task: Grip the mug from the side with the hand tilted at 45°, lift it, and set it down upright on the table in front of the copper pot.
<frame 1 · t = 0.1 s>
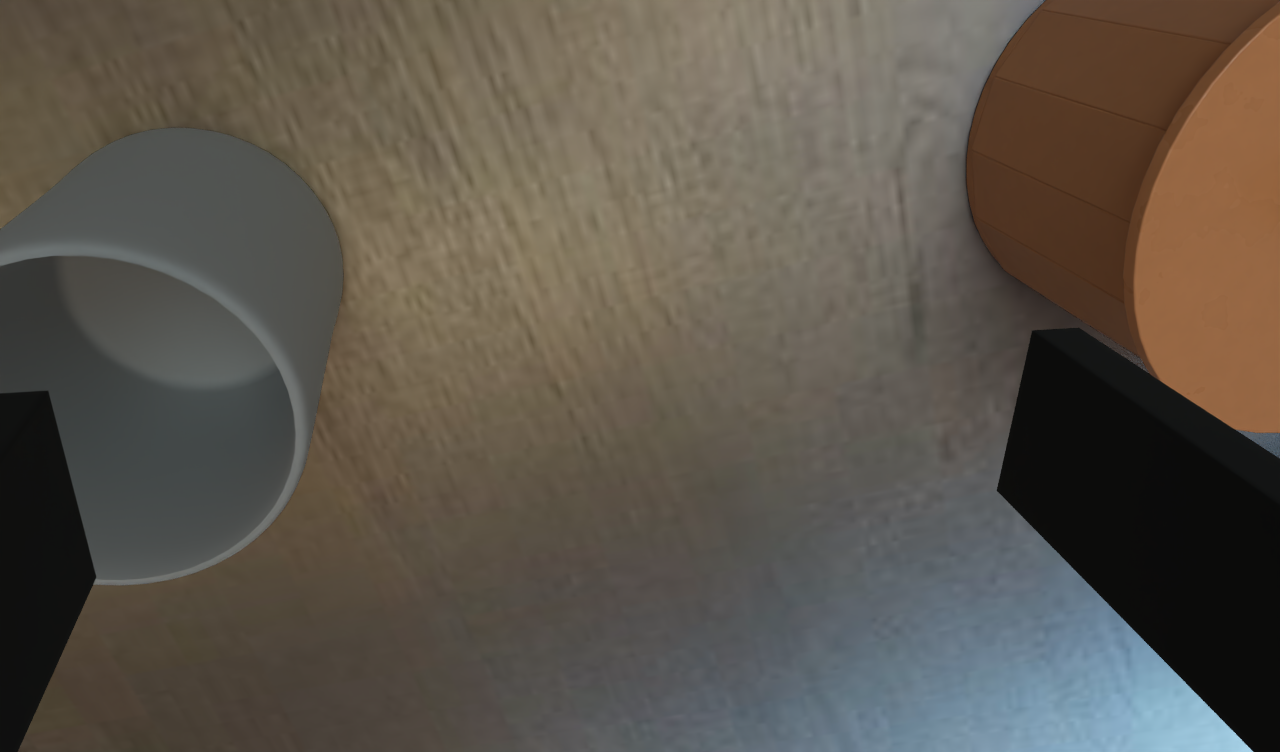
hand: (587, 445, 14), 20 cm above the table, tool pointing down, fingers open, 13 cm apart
pot: (1126, 135, 35), on the table
mug: (159, 290, 31), on the table
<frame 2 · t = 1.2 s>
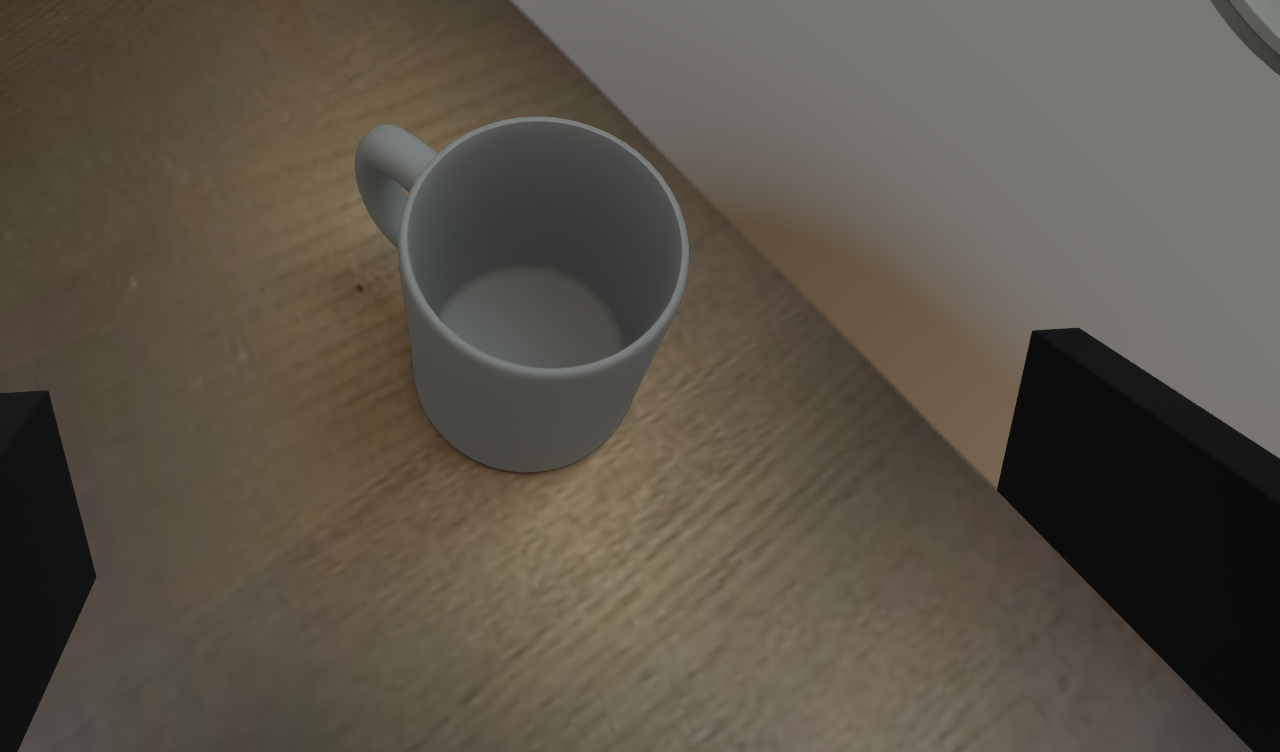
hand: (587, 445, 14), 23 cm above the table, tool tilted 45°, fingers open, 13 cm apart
mug: (492, 341, 39), on the table
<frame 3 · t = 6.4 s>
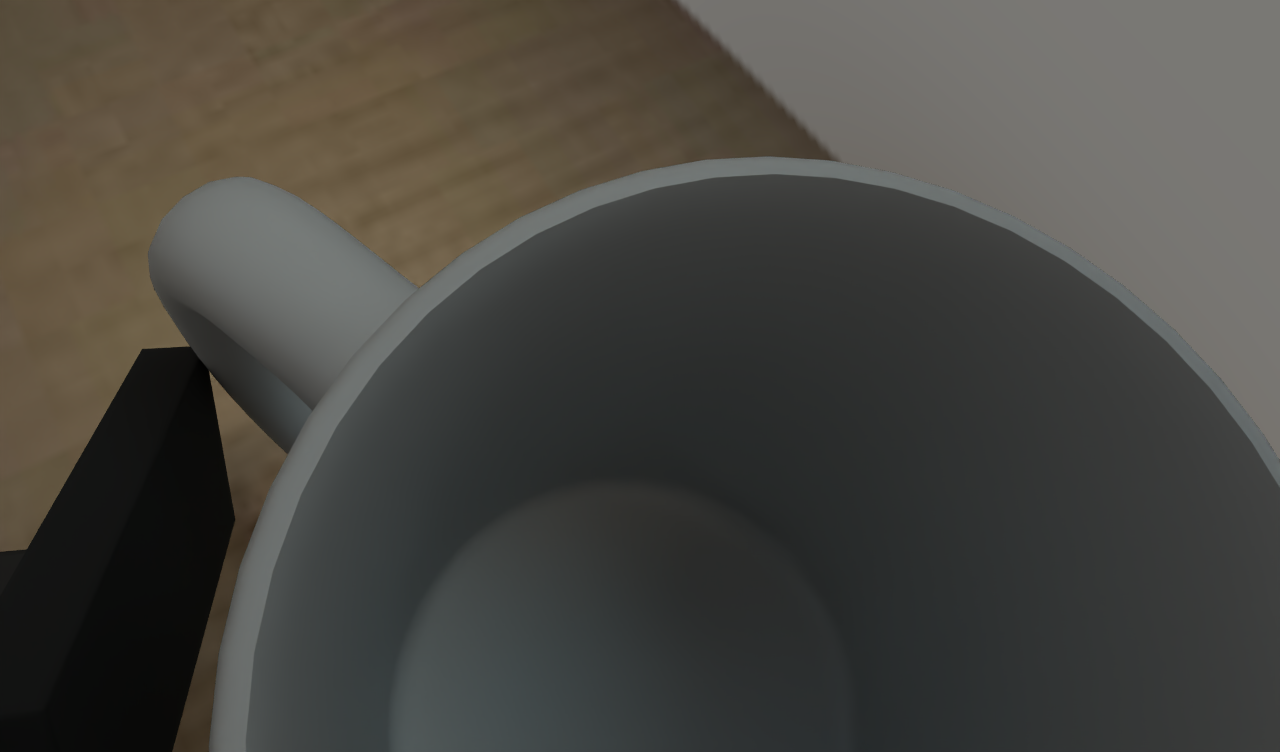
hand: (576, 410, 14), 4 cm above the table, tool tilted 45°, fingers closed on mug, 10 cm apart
mug: (539, 644, 17), on the table, touching gripper
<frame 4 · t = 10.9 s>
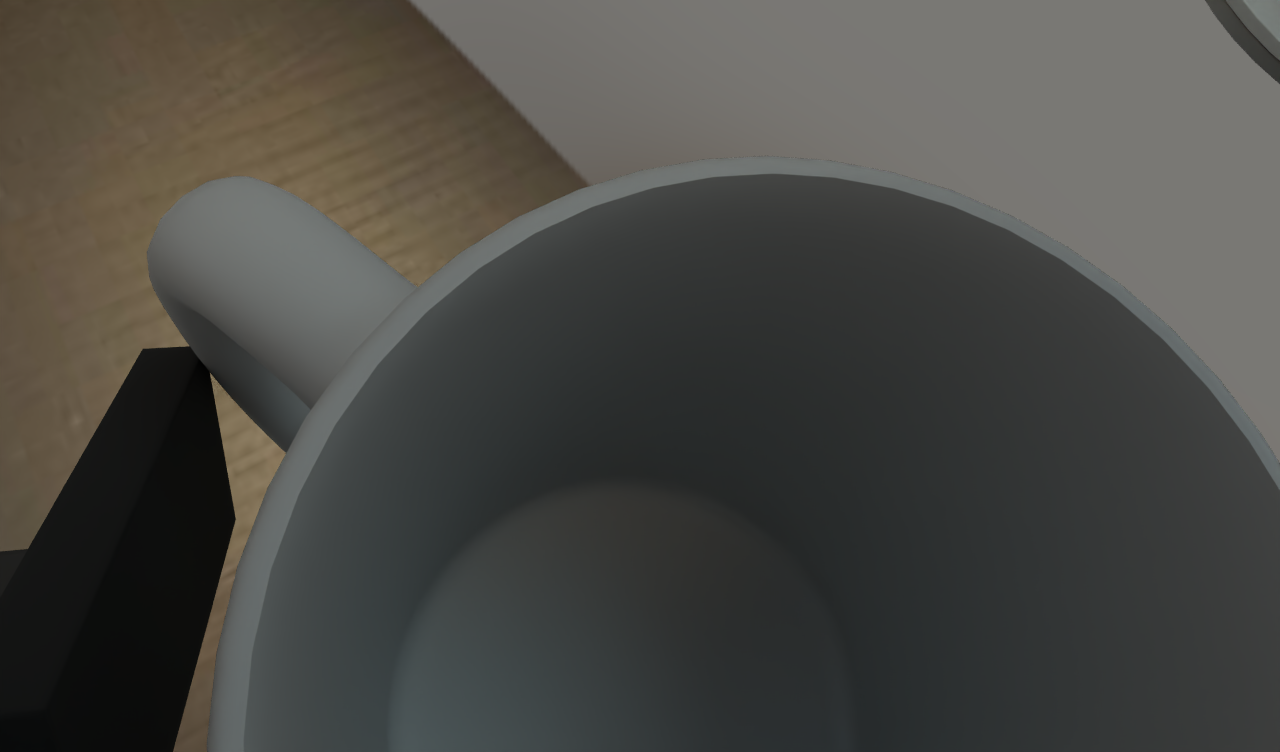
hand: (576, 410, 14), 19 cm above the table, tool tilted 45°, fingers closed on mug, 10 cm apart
mug: (538, 644, 17), point 15 cm above the table, touching gripper
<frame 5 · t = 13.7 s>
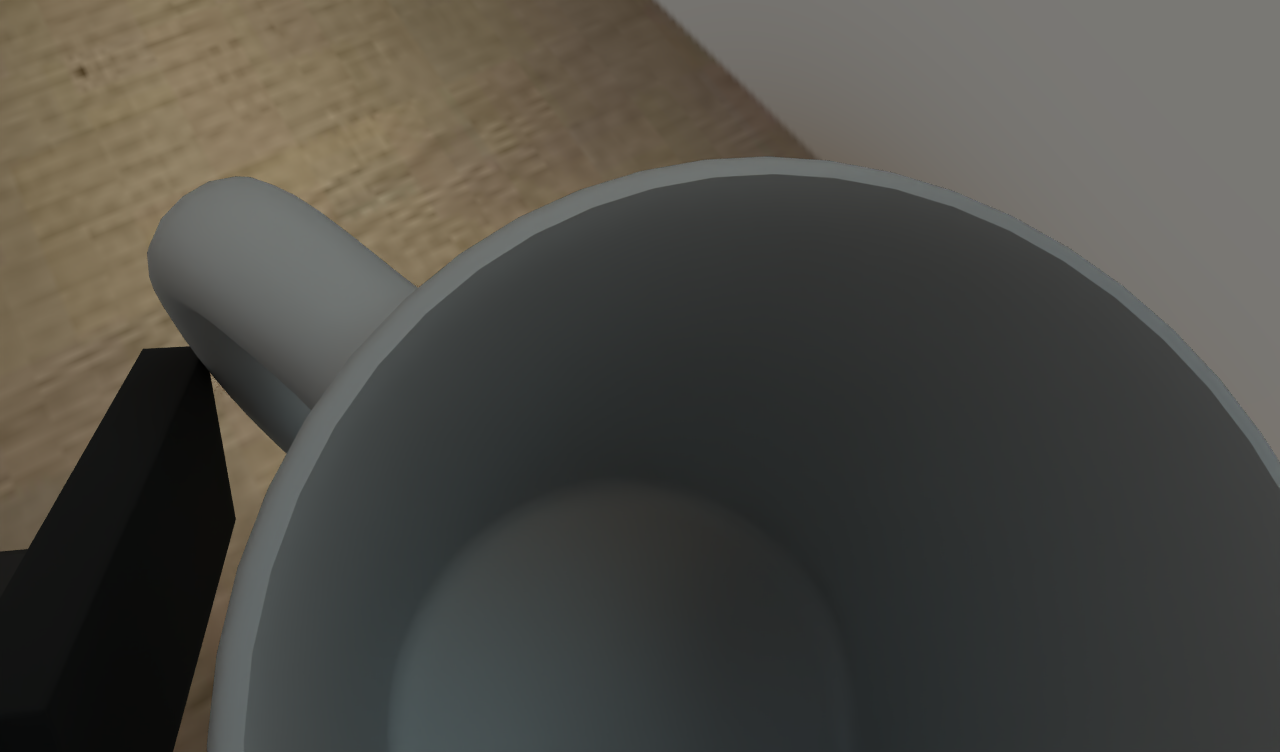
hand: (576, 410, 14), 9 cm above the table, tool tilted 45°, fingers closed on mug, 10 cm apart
mug: (538, 644, 17), point 5 cm above the table, touching gripper
when the fingers open (4 cm above the table, at t = 15.8 s): mug stays where it is, on the table.
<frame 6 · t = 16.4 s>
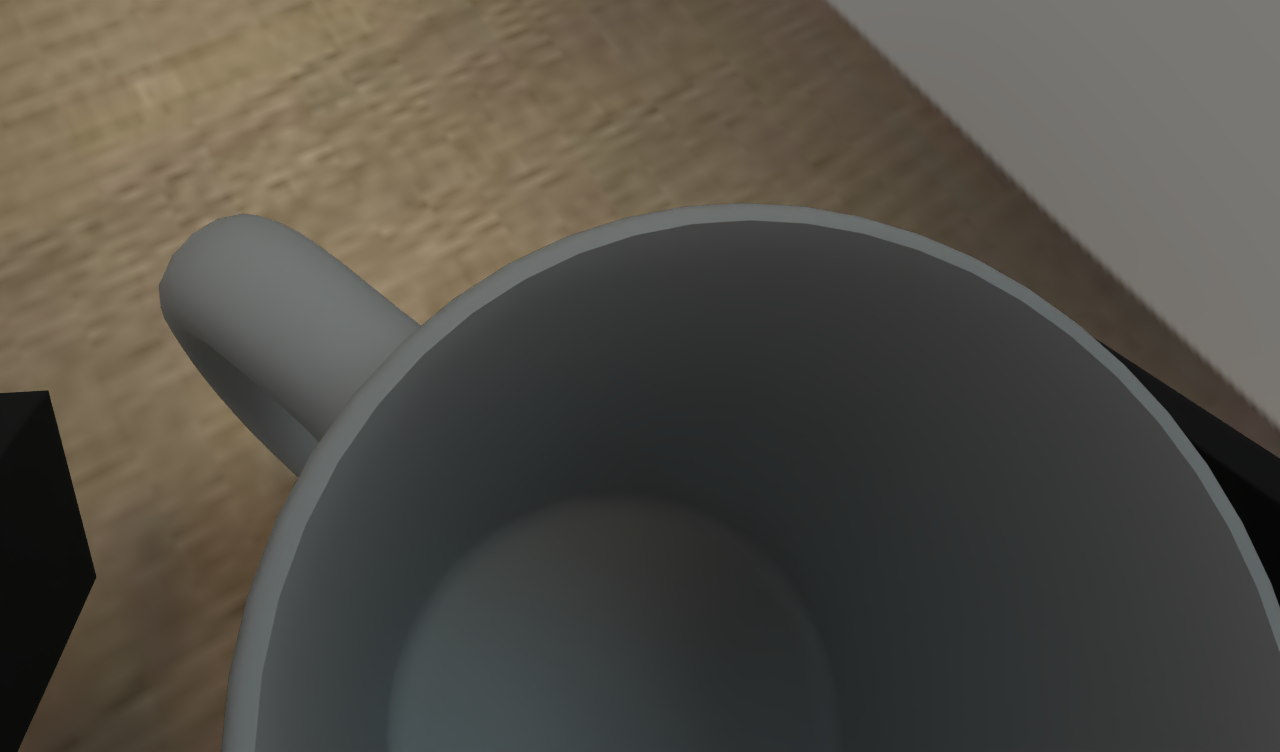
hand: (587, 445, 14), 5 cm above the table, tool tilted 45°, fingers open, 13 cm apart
mug: (534, 652, 18), on the table
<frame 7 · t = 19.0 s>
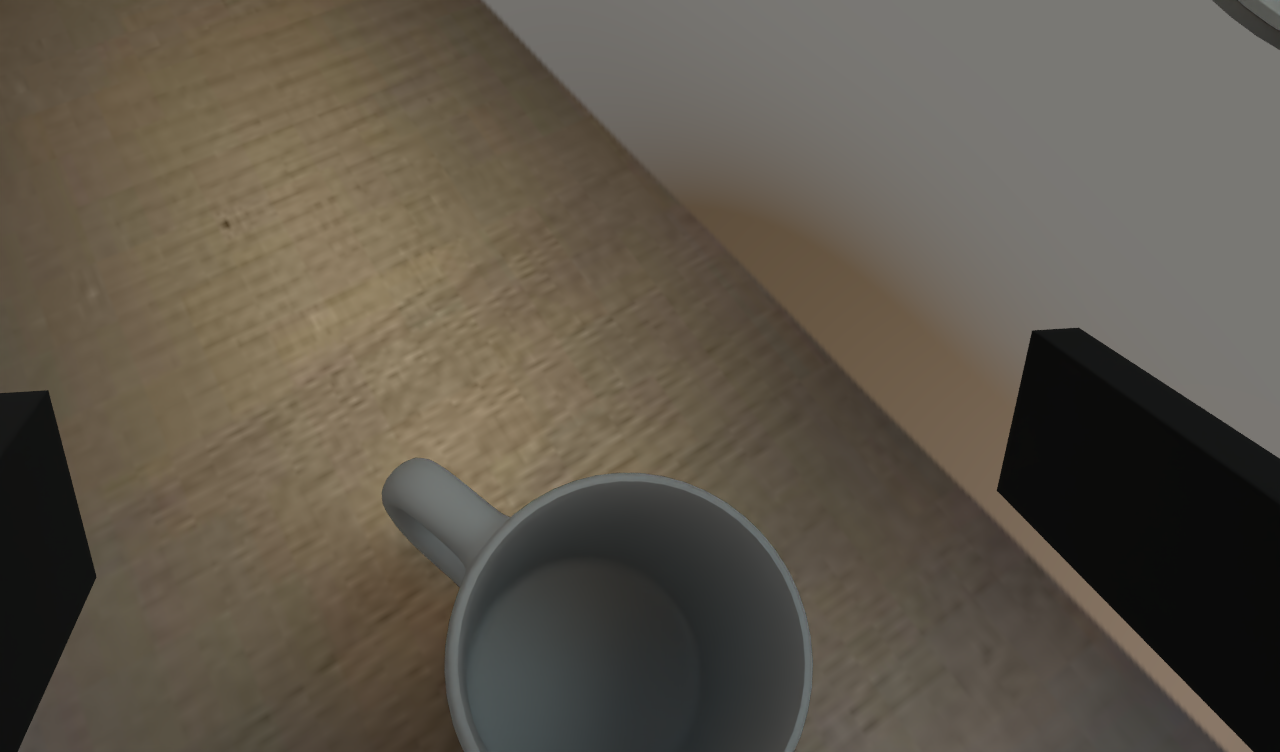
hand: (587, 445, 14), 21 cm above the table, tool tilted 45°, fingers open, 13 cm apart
mug: (539, 642, 33), on the table
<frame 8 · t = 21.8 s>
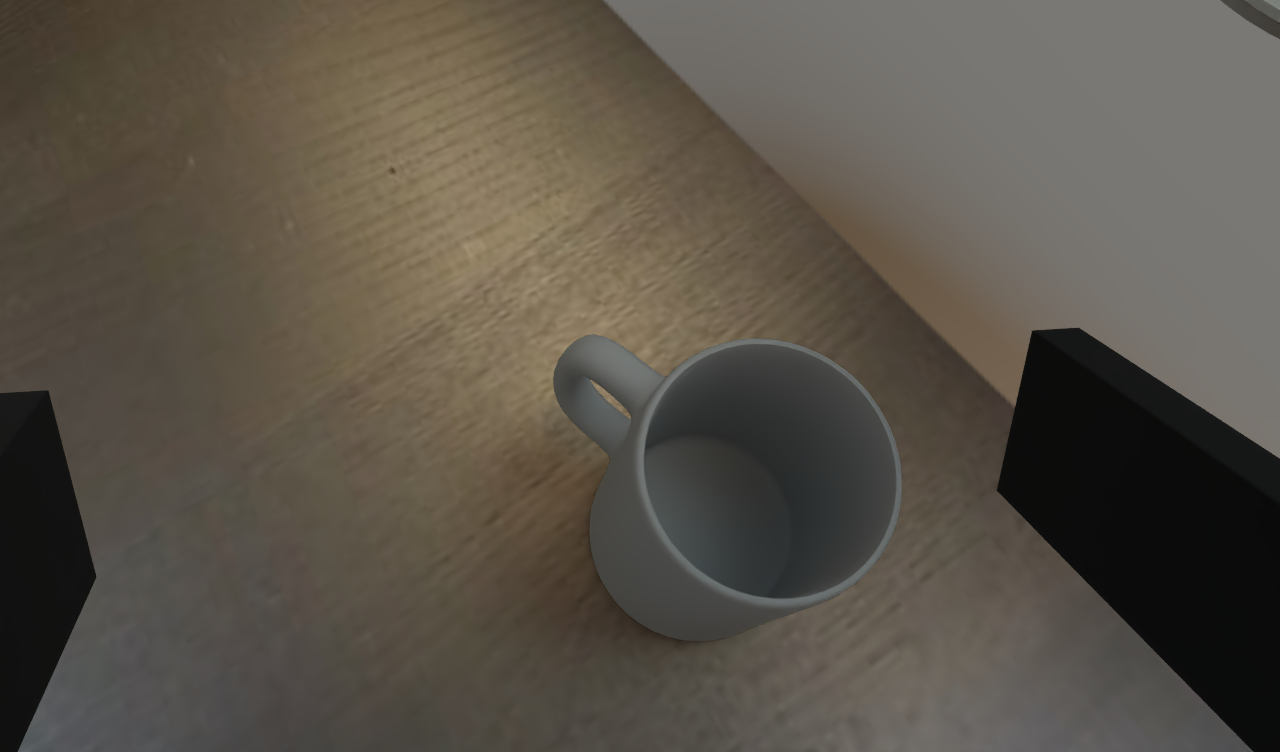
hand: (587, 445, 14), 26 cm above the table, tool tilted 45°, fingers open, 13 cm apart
mug: (658, 506, 40), on the table
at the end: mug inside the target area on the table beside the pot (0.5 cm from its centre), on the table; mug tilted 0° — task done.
